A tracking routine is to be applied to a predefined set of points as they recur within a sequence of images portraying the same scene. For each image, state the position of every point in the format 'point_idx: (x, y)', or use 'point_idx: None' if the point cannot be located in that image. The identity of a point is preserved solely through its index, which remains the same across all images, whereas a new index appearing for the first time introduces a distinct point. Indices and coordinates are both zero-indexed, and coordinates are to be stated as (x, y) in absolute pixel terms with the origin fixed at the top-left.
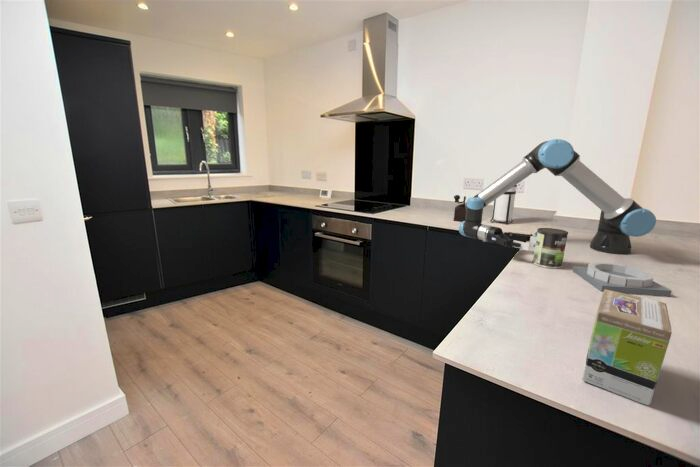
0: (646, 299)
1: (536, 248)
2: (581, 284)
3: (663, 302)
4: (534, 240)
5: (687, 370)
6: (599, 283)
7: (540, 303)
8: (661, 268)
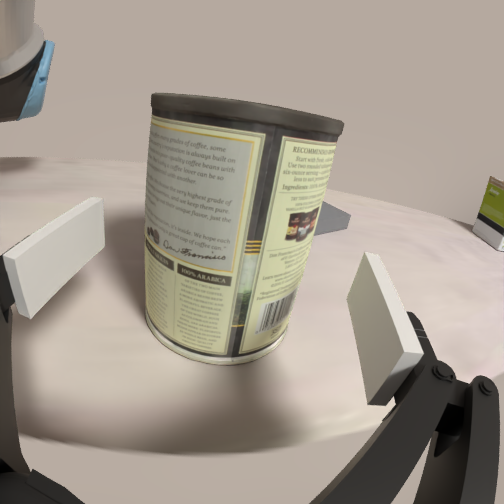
0: (501, 180)
1: (291, 266)
2: (344, 245)
3: (491, 176)
4: (51, 270)
5: (447, 218)
6: (342, 216)
7: (497, 283)
8: (69, 169)
